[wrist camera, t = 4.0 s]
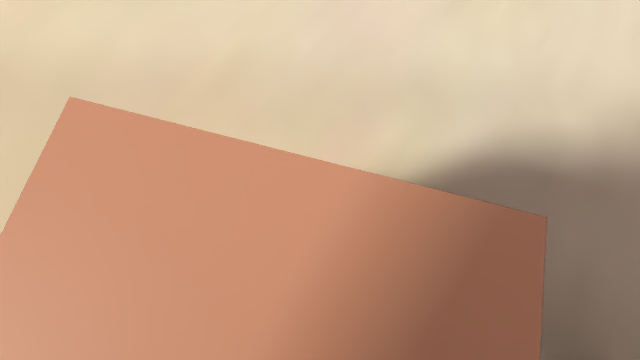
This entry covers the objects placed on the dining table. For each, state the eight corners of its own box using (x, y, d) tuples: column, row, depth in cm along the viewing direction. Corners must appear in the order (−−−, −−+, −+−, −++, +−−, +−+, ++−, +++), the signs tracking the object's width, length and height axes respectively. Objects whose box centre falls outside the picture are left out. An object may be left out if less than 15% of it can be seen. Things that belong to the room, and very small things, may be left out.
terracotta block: (323, 387, 14) (510, 991, 2) (203, 357, 14) (-292, 816, 2) (349, 264, 16) (547, 218, 4) (240, 237, 15) (70, 96, 4)
